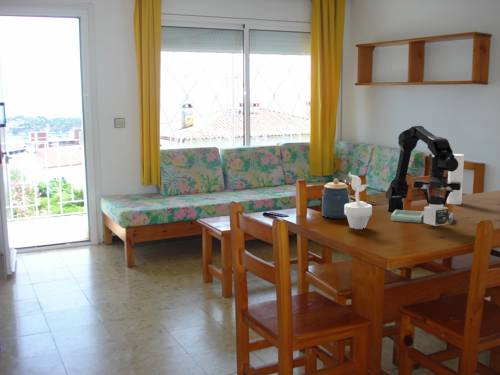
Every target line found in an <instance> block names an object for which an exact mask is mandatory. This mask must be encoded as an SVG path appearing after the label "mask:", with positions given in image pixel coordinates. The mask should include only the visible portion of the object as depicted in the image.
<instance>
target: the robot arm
mask: <svg viewBox="0 0 500 375" xmlns="http://www.w3.org/2000/svg"><path fill="white" fill-rule="evenodd" d="M397 139H398V147H399V149H400V151H399V155H398V156H399V157H398V162H397V166H396V173H395V177H394V178H393V179H392V180H391V181H390V184H389V187H388V189H387V190H386V192H385V195H384V196H385V198H386V199H388V209H387V212H392V213H393V212H394V211H395V210H404V209H405V200H404V199H407V196H408V192H409V187H410V185H409V183H408V181H407V176H408V171H409V166H410V161H411V155H412V152H413V151H414V150H415V148H416V147H417V145H418V142H419V141H420V140H421V141H422V142H424V144H426V145H427V149H428V150H429V152H431V153H429V155H428V157H429V158H430V159H431V160H430V177H429V181H425V179H416V180H415V181H414V182H413V189H420V191H422V192H423V193H424V197H425V200H426V203H427V206H430V205H429V197H430V189H439V190H440V189H442V188H446V189H445V194H444V206H443V207H446V206H445V205H446V204H447V198H448V196H449V194H450V192H453V191H454V190H460V189H461V183H460V182H452V181H451V183H448V176H446V172H448V171H451V172H453V171H455V170H456V169H457V168H458V161H457V159H455V158H454V155H453V154H454V153H453V149H452V148H451V145H450V142H449V140H448V139H447V138H445V137H442V136H436V135H434V134H433V133H432V132H430V131H429V130H427V129H426V128H425V127H424V126H422V125H413V126H411V127H410V128H408V129H406V130H404V131H402V132H400V133H399V135H398V138H397ZM429 188H430V189H429Z"/></svg>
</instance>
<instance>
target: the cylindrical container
mask: <svg viewBox="0 0 500 375" xmlns="http://www.w3.org/2000/svg"><path fill="white" fill-rule="evenodd" d="M453 155H454V158H455V159H457V161H458V168H457V169H456V170H455V171H453V172H451V171H447V174H448V175H447V183H451V181H452V182H460V183H461V189H460V190H454V191H453V192H450V194H449V196H448V198H447V201H446V204H448V205H462V202H463V201H462V200H463V183H464V181H463V180H464V167H465V166H464V165H465V162H464V161H465V154H463V153H462V154H461V153H453Z"/></svg>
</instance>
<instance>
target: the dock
mask: <svg viewBox="0 0 500 375" xmlns="http://www.w3.org/2000/svg"><path fill="white" fill-rule="evenodd" d="M453 219H454V212H450V211H448V225H452V223H453V221H454V220H453ZM422 223H424V214H423V220H422Z"/></svg>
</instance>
